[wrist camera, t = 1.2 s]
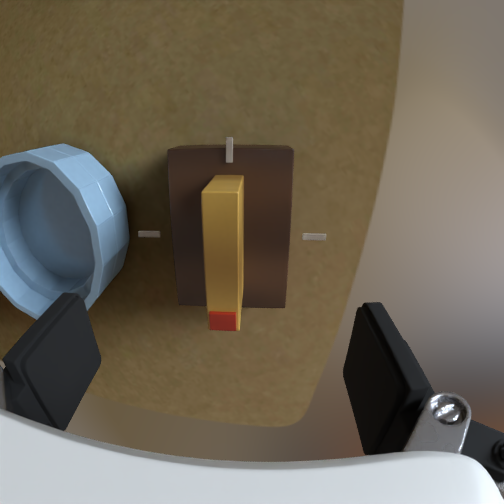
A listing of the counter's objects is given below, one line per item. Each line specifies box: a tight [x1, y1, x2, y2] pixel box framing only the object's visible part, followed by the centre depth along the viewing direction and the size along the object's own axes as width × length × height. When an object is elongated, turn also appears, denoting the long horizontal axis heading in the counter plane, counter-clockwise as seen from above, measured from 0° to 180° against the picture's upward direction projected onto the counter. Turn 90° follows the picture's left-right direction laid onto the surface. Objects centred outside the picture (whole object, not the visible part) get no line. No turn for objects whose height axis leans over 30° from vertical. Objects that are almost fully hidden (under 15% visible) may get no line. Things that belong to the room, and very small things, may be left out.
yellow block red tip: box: [201, 175, 244, 331], centre depth 16 cm, size 7×2×5 cm, turn 179°
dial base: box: [138, 137, 326, 308], centre depth 20 cm, size 11×11×3 cm
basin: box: [0, 144, 130, 320], centre depth 19 cm, size 12×12×5 cm
